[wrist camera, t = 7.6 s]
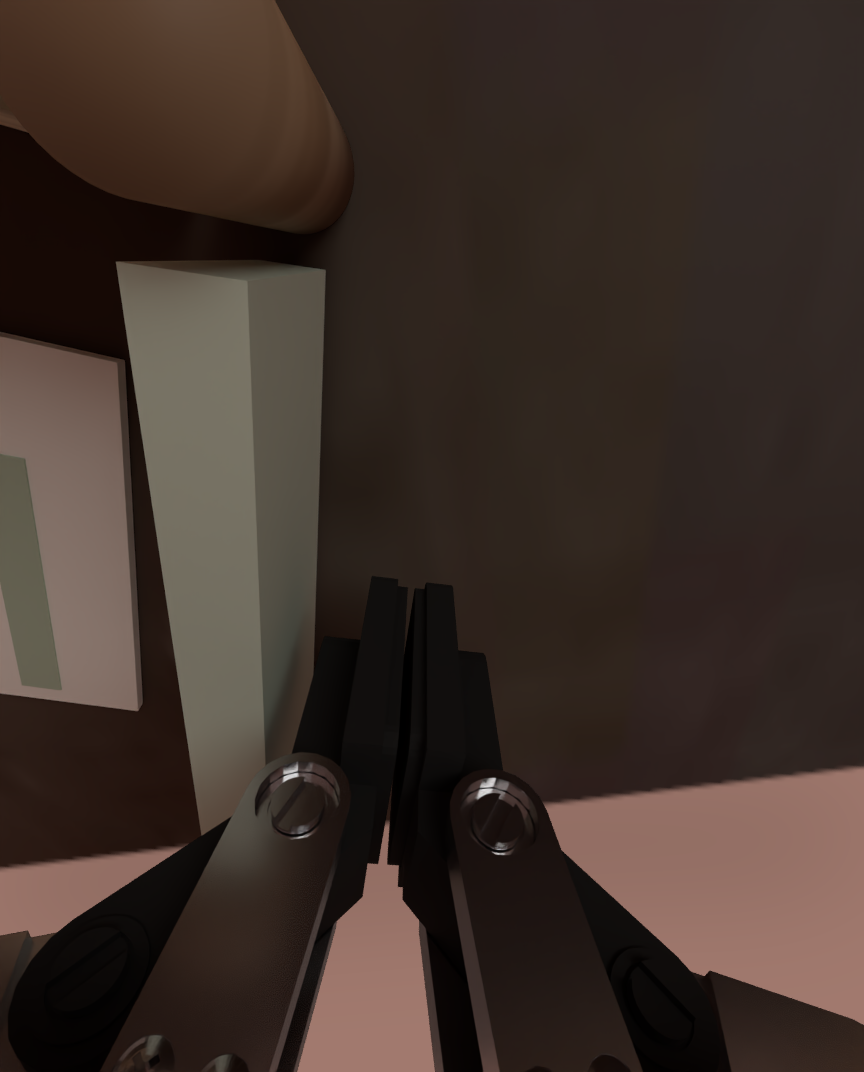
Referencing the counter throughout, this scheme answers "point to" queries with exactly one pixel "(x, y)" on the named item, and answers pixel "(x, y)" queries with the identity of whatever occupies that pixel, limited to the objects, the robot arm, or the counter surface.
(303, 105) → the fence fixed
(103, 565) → the card
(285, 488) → the cream flat slab
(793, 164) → the counter surface
